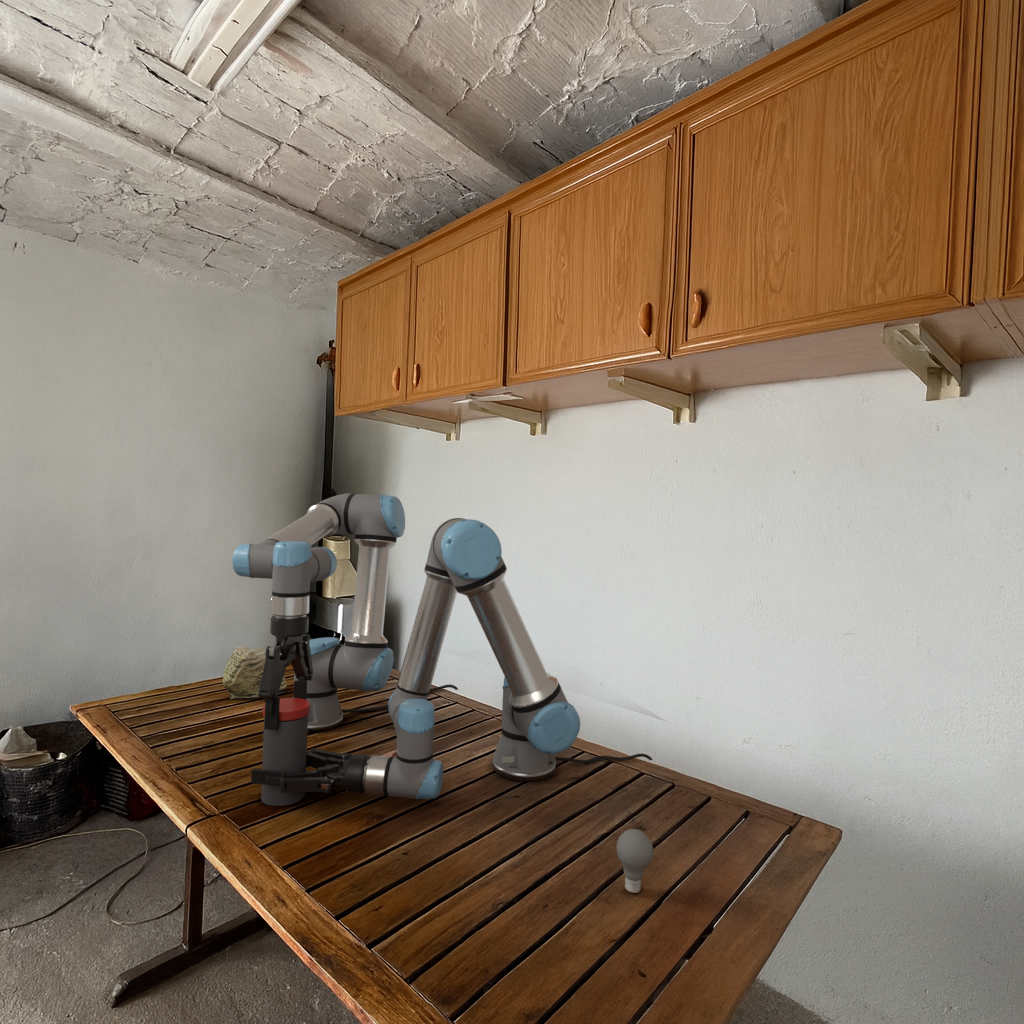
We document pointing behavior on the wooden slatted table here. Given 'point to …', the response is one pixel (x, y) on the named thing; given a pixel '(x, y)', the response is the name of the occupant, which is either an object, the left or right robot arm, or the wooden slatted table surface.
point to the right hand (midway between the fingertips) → (263, 766)
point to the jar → (284, 758)
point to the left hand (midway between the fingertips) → (286, 719)
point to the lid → (292, 708)
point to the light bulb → (634, 857)
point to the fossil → (246, 673)
